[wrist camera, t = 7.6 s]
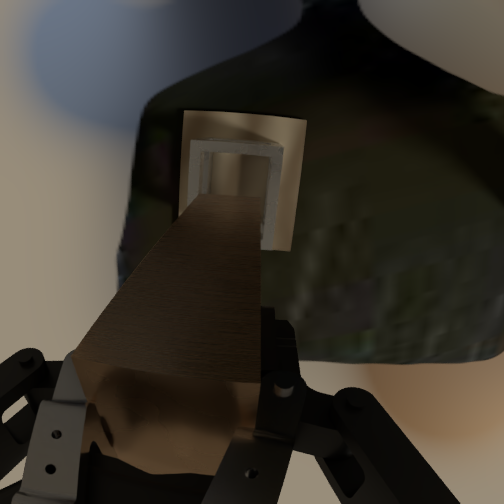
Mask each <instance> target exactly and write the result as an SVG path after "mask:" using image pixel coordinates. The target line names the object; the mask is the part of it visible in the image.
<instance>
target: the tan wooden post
mask: <svg viewBox="0 0 504 504" xmlns="http://www.w3.org/2000/svg"><path fill="white" fill-rule="evenodd" d="M71 359H72V362H73V365H74V368H75V370H76V373H77V376H78V379H79V381H80V384H81V387H82V389H83V392H84V394H85V397H86V400H87V402H91V403H95V405H96V408H97V410H98V413H99V415H100V421H101V426H102V428H103V431H104V433H105V435H106V437H107V439H108V441H109V444H110V446H113V447H114V449H115V451H116V453H117V455H118V459H120V460H122V461H124V462H126V463H128V464H130V465H132V466H134V467H136V468H138V469H141V470H143V471H145V472H147V473H150V474H178V473H197V474H205V475H214V476H215V474H216V472H217V470H218V467H219V465H220V463H221V461H222V459H223V457H224V455H225V452H226V450H227V448H228V446H229V444H230V441H231V439H232V437H233V435H234V433H235V431H236V429H237V428H238V427H249V428H255V423H256V416H257V408H258V400H259V392H260V384H261V199H260V197H249V196H233V195H216V194H198V196H197V197H196V198H195V199H194V200H193V201H192V202H191V203H190V205H189V206H188V207H187V208H186V209H185V210H184V211H183V213H182V214H181V215H180V216H179V217H178V218H177V220H176V221H175V222H174V223H173V224H172V225H171V227H170V228H169V229H168V230H167V231H166V232H165V234H164V235H163V236H162V237H161V238H160V240H159V241H158V242H157V243H156V244H155V246H154V247H153V248H152V249H151V251H150V252H149V253H148V254H147V255H146V257H145V258H144V259H143V260H142V262H141V263H140V264H139V265H138V267H137V268H136V269H135V270H134V272H133V273H132V274H131V275H130V277H129V278H128V279H127V281H126V282H125V283H124V284H123V286H122V287H121V288H120V290H119V291H118V292H117V293H116V295H115V296H114V298H113V299H112V300H111V301H110V303H109V304H108V305H107V307H106V308H105V309H104V311H103V312H102V313H101V315H100V316H99V317H98V319H97V320H96V322H95V323H94V324H93V326H92V327H91V328H90V330H89V331H88V332H87V334H86V335H85V337H84V338H83V339H82V341H81V342H80V344H79V345H78V347H77V348H76V349H75V351H74V352H73V354H72V355H71Z"/></svg>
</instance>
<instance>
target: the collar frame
mask: <svg viewBox="0 0 504 504" xmlns="http://www.w3.org/2000/svg"><path fill="white" fill-rule="evenodd" d="M213 152H221V153H234V154H246V155H257V156H267V157H269V164H268V174H267V183H266V193H265V202H264V212H263V217H261V249H263V250H272V246H273V238H274V230H275V222H276V213H277V205H278V196H279V188H280V179H281V170H282V161H283V152H284V147H283V146H282V145H281V144H280V143H274V142H264V141H254V140H242V139H229V138H215V137H203V138H198V139H193V140H191V142H190V158H189V176H188V199H187V207H188V206H189V205H190V203H191V202H192V201H193V200H194V199H195V198H196V197H197V196H198V194H211V180H212V166H213Z"/></svg>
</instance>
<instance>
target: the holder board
mask: <svg viewBox="0 0 504 504" xmlns="http://www.w3.org/2000/svg"><path fill="white" fill-rule="evenodd" d="M306 124H307V120H301V119H293V118H285V117H276V116H267V115H256V114H245V113H231V112H214V111H185V110H184V120H183V134H182V150H181V169H180V193H179V216H180V215H181V214H182V213H183V211H184V210H185V209H186V208H187V199H188V176H189V158H190V142H191V140H193V139H198V138H203V137H215V138H229V139H242V140H254V141H264V142H274V143H280V144H281V145H282V146H283V147H284V152H283V161H282V170H281V179H280V188H279V196H278V205H277V213H276V222H275V230H274V238H273V246H272V250H282V251H290V248H291V242H292V235H293V228H294V220H295V213H296V206H297V198H298V191H299V183H300V175H301V167H302V159H303V150H304V142H305V133H306ZM268 164H269V157H267V156H257V155H246V154H234V153H221V152H213V166H212V180H211V194H216V195H233V196H249V197H260V199H261V217H263V212H264V202H265V193H266V183H267V174H268Z"/></svg>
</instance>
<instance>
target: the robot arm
mask: <svg viewBox="0 0 504 504" xmlns="http://www.w3.org/2000/svg"><path fill="white" fill-rule="evenodd" d="M74 351H75V350H73V351H71V352H70V353H68V354H67V355H66V357H65V359H64V361H45V359H44V356H43V354H42V352H41V351H40V350H38V349H35V348H26V349H22V350H20V351H18V352H16V353H15V354H13V355H12V356H11V357H9V358H8V359H6V360H5V361H4V362H2V363H1V364H0V480H1V479H3V477H5V475H7V474H8V473H9V472H10V471H11V470H12V469H13V468H14V467H15V466H16V465H17V464H18V463H19V462H20V461H22V459H24V458H25V457H26V456H27V458H26V463H25V468H24V473H23V478H22V480H20V481H18V482H16V483H14V484H12V485H9V486H7V487H5V488H3V489H1V490H0V504H277V502H278V499H279V495H280V492H281V489H282V486H283V482H284V479H285V475H286V472H287V468H288V465H289V461H290V458H291V454H292V451H293V450H295V451H298V452H303V453H306V454H310V455H314V456H315V459H316V461H317V462H318V464H319V466H320V468H321V469H322V471H323V473H324V475H325V476H326V478H327V480H328V482H329V483H330V485H331V487H332V489H333V490H334V492H335V494H336V495H337V497H338V499H339V501H340V502H341V504H460V502H459V501H458V500H457V499H456V498H455V496H454V495H453V494H452V492H451V491H450V490H449V489H448V487H447V486H446V485H445V484H444V482H443V481H442V480H441V479H440V478H439V476H438V475H437V474H436V473H435V471H434V470H433V469H432V468H431V466H430V465H429V464H428V463H427V461H426V460H425V459H424V458H423V457H422V455H421V454H420V453H419V451H418V450H417V449H416V448H415V447H414V445H413V444H412V443H411V442H410V440H409V439H408V438H407V437H406V435H405V434H404V433H403V432H402V430H401V429H400V428H399V427H398V426H397V424H396V423H395V422H394V421H393V419H392V418H391V417H390V416H389V414H388V413H387V412H386V411H385V410H384V408H383V407H382V406H381V405H380V403H379V402H378V401H377V400H376V398H375V397H374V396H373V395H372V394H371V393H369V392H368V391H366V390H363V389H360V388H356V387H348V388H344V389H341V390H340V391H338V392H337V393H336V394H335V395H334V396H332V395H328V394H324V393H320V392H317V391H315V390H313V389H311V388H309V387H308V386H307V385H306V382H305V381H304V379H303V378H302V377H301V375H300V367H299V360H298V353H297V347H296V340H295V332H294V328H293V327H292V326H291V324H290V323H289V322H288V321H287V320H275V310H274V307H271V306H261V384H260V392H259V400H258V408H257V416H256V423H255V428H249V427H238V428H237V429H236V431H235V433H234V435H233V437H232V439H231V441H230V444H229V446H228V448H227V450H226V452H225V455H224V457H223V459H222V461H221V463H220V465H219V467H218V470H217V472H216V474H215V476H214V475H205V474H197V473H178V474H150V473H147V472H145V471H143V470H141V469H138V468H136V467H134V466H132V465H130V464H128V463H126V462H124V461H122V460H120V459H118V455H117V453H116V451H115V449H114V447H113V446H110V444H109V441H108V439H107V437H106V435H105V433H104V431H103V428H102V426H101V421H100V415H99V413H98V410H97V408H96V405H95V403H91V402H87V400H86V397H85V394H84V392H83V389H82V387H81V384H80V381H79V379H78V376H77V373H76V370H75V368H74V365H73V362H72V359H71V355H72V354H73V352H74ZM22 396H25V398H26V400H27V402H28V404H27V405H26V406H24V407H23V408H22V409H21V410H20V411H19V412H17V413H16V414H15V415H14V416H13V417H11V418H10V419H9V420H8V421H7V422H5V423H3V422H2V415H3V413H4V411H5V410H7V409H8V408H9V407H10V406H11V405H13V404H14V403H15V402H16V401H18V400H19V399H20V398H21V397H22Z"/></svg>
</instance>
